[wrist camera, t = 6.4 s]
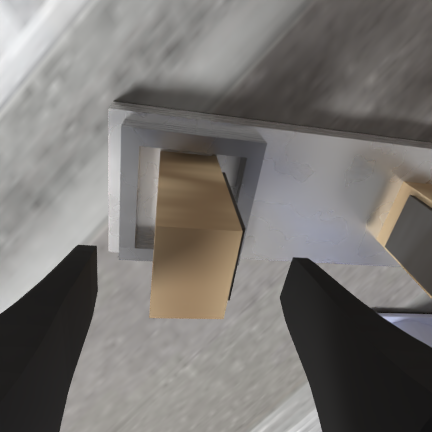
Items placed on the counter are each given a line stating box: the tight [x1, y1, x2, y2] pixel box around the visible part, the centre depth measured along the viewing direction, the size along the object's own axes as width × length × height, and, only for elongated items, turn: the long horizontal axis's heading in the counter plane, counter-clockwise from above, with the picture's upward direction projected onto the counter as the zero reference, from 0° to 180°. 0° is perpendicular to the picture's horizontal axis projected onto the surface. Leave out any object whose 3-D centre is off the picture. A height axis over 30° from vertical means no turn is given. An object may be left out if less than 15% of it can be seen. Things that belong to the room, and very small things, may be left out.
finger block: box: [149, 151, 246, 319], centre depth 15 cm, size 3×4×7 cm
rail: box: [108, 101, 432, 267], centre depth 19 cm, size 20×8×3 cm, turn 81°
